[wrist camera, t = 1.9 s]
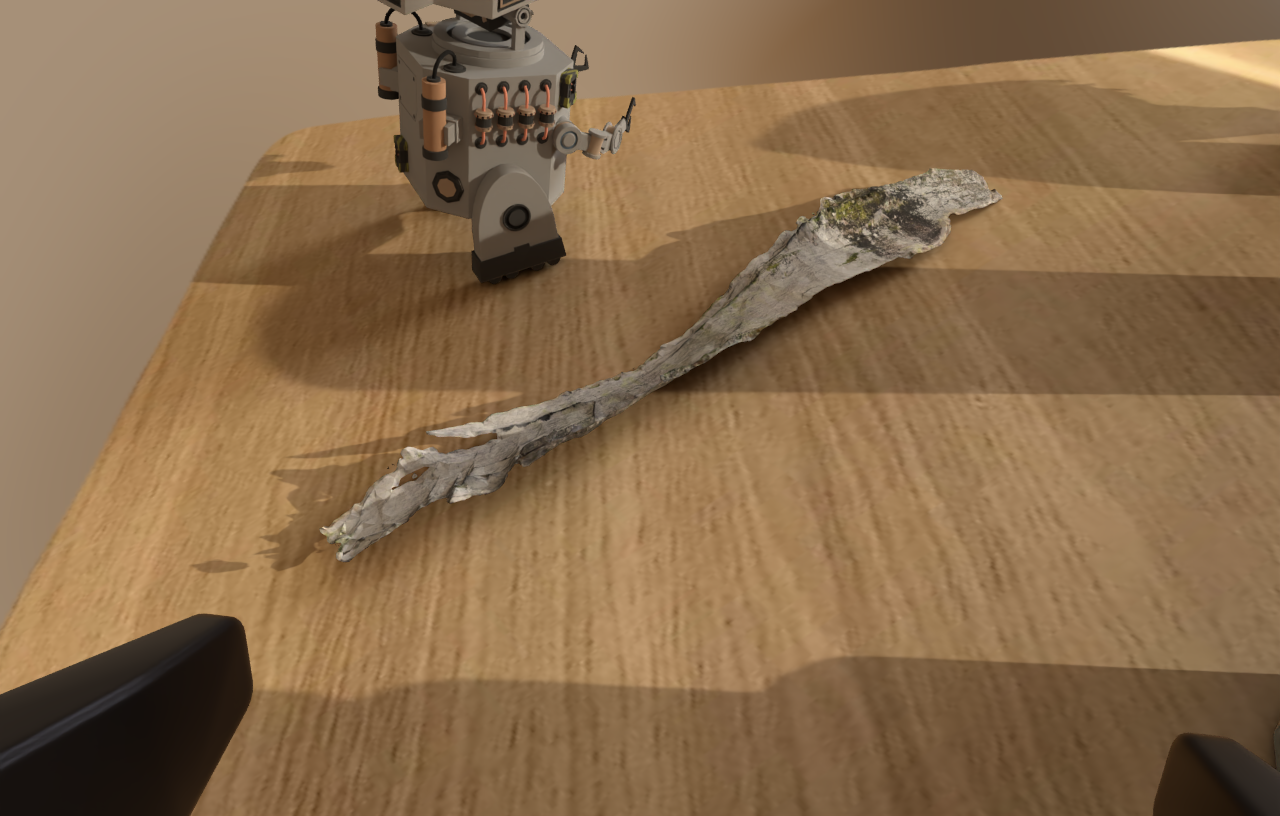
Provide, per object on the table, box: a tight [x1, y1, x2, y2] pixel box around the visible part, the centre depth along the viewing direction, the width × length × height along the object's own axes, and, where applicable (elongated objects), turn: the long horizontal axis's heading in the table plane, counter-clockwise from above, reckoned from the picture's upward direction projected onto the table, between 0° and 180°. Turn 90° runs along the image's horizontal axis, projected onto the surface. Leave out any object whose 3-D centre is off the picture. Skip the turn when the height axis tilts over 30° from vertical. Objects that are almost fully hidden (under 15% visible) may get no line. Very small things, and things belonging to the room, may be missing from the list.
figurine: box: [375, 0, 636, 284], centre depth 40 cm, size 9×12×15 cm
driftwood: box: [319, 168, 1002, 562], centre depth 37 cm, size 37×2×5 cm
